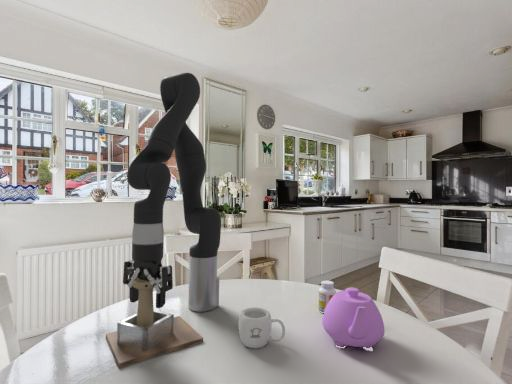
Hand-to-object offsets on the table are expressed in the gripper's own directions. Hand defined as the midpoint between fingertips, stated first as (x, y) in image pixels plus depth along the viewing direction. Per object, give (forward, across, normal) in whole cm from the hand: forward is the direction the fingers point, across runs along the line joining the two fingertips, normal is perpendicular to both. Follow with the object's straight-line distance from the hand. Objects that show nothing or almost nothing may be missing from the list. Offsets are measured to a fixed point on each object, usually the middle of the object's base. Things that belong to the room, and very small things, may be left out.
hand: (146, 304), depth 75 cm
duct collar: (+10, 0, 0) cm, 10 cm away
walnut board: (+10, -1, -2) cm, 10 cm away
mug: (+10, -27, -12) cm, 31 cm away
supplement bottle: (+10, -38, -40) cm, 56 cm away
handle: (+9, 0, 0) cm, 9 cm away
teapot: (+10, -48, -23) cm, 54 cm away
